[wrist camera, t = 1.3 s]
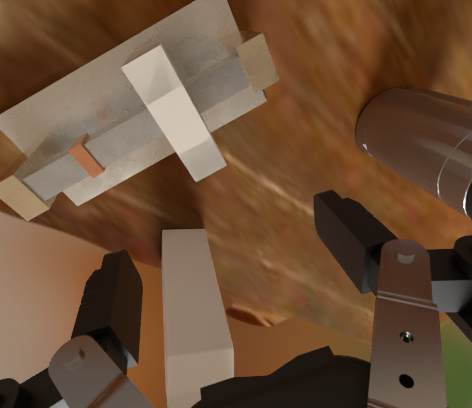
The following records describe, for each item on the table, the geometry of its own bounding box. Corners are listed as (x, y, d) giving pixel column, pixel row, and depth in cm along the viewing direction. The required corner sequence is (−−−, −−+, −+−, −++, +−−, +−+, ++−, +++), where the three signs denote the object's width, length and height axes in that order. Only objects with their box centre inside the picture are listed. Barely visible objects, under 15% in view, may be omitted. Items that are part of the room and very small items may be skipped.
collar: (158, 37, 28) (160, 44, 19) (208, 129, 33) (226, 165, 25) (130, 53, 28) (120, 67, 20) (185, 142, 33) (195, 182, 25)
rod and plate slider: (220, -15, 28) (241, -26, 21) (265, 100, 35) (293, 120, 28) (-8, 118, 30) (-58, 149, 23) (78, 204, 36) (60, 248, 29)
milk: (161, 229, 41) (167, 394, 23) (205, 228, 43) (242, 382, 24) (161, 262, 44) (166, 433, 26) (202, 260, 46) (233, 419, 27)
